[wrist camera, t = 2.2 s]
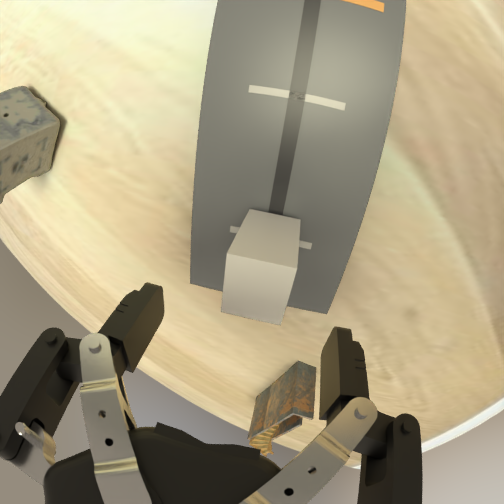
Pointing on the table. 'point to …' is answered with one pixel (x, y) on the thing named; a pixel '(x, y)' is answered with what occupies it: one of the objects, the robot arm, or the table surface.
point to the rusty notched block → (283, 406)
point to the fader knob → (261, 267)
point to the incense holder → (24, 137)
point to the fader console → (293, 130)
